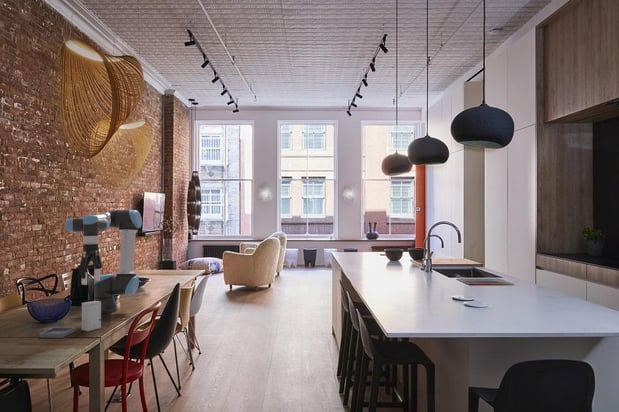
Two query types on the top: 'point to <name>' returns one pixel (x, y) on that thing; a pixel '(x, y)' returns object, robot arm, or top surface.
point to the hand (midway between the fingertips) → (90, 282)
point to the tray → (57, 332)
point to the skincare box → (91, 315)
